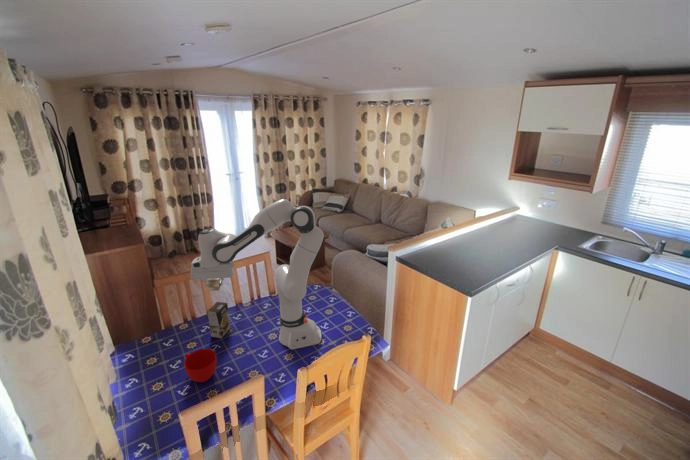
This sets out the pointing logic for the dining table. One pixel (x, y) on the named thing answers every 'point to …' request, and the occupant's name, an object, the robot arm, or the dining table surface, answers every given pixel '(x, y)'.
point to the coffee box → (219, 319)
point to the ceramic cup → (200, 364)
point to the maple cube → (213, 284)
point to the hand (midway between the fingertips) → (214, 285)
